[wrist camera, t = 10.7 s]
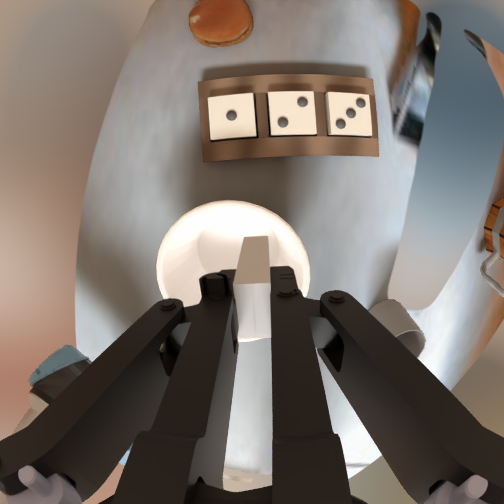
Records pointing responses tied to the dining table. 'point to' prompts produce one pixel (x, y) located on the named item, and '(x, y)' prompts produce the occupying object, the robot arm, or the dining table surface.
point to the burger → (220, 22)
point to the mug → (494, 241)
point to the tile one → (232, 117)
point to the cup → (400, 325)
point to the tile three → (347, 114)
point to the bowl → (223, 247)
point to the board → (264, 144)
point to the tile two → (292, 113)
